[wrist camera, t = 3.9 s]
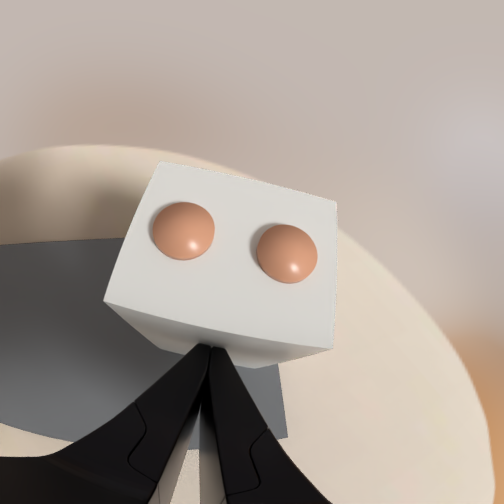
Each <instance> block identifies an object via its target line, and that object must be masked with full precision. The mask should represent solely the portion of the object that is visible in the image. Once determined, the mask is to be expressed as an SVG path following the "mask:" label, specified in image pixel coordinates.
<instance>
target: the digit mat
mask: <svg viewBox="0 0 504 504" xmlns="http://www.w3.org/2000/svg"><path fill="white" fill-rule="evenodd" d="M124 240H125V238H113V239H92V240H73V241H55V242H38V243H23V244H8V245H0V423H2V424H5V425H8V426H11V427H14V428H18V429H21V430H24V431H28V432H31V433H35V434H39V435H43V436H47V437H51V438H56V439H61V440H66V441H71V442H76V441H77V440H79V439H81V438H82V437H84V436H86V435H87V434H89V433H91V432H92V431H94V430H96V429H97V428H99V427H100V426H102V425H103V424H105V423H106V422H108V421H109V420H111V419H112V418H114V417H115V416H116V415H117V414H119V413H120V412H121V411H122V410H124V409H125V408H126V407H127V406H128V405H129V404H131V403H132V402H134V400H135V399H136V398H138V397H139V396H140V395H141V394H142V393H143V392H144V391H145V390H147V389H148V388H149V387H150V386H151V385H152V384H153V383H154V382H156V381H157V380H158V379H159V378H160V377H161V376H162V375H163V374H165V373H166V372H167V371H168V370H169V369H170V368H171V367H172V366H173V365H174V364H176V363H177V362H178V361H179V360H180V359H181V358H182V357H183V356H184V355H183V354H179V353H174V352H170V351H166V350H163V349H159V348H158V347H157V346H156V345H154V344H153V343H152V342H151V341H149V340H148V339H147V338H146V337H144V336H143V335H142V334H141V333H139V332H138V331H137V330H136V329H135V328H133V327H132V326H131V325H130V324H129V323H128V322H126V321H125V320H124V319H123V318H122V317H121V316H119V315H118V314H117V313H116V312H115V311H114V310H113V309H112V308H110V307H109V306H108V305H107V304H106V303H105V302H104V301H103V300H104V297H105V294H106V290H107V287H108V284H109V281H110V278H111V275H112V272H113V269H114V267H115V264H116V261H117V258H118V256H119V253H120V250H121V248H122V245H123V242H124ZM234 366H235V368H236V370H237V371H238V373H239V375H240V377H241V379H242V381H243V383H244V384H245V386H246V388H247V390H248V392H249V393H250V395H251V397H252V399H253V400H254V402H255V404H256V406H257V407H258V409H259V411H260V413H261V414H262V416H263V418H264V419H265V421H266V423H267V424H268V426H269V427H268V428H270V429H271V431H272V433H273V434H274V436H275V438H276V439H282V438H287V437H288V434H287V426H286V419H285V411H284V404H283V397H282V390H281V382H280V375H279V368H278V364H274V365H269V366H265V367H260V368H256V369H254V368H248V367H242V366H236V365H234ZM200 407H201V406H200ZM199 419H200V411H199V415H198V418H197V421H196V424H195V427H194V431H193V434H192V437H191V440H190V443H189V446H188V449H187V450H192V449H199Z"/></svg>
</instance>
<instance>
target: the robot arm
mask: <svg viewBox="0 0 504 504" xmlns="http://www.w3.org/2000/svg"><path fill="white" fill-rule="evenodd" d="M200 406H201V407H200ZM199 411H200V419H199V475H200V504H332V503H331V502H330V501H328V500H327V499H326V498H325V497H324V496H323V495H322V494H321V493H320V492H319V491H318V489H317V488H316V487H315V486H314V485H313V484H312V483H311V482H310V481H309V480H308V479H307V477H306V476H305V475H304V474H303V473H302V472H301V471H300V470H299V468H298V467H297V466H296V465H295V464H294V462H293V461H292V460H291V459H290V457H289V456H288V455H287V454H286V452H285V451H284V450H283V448H282V447H281V445H280V444H279V442H278V441H277V439H276V438H275V436H274V434H273V433H272V431H271V429H270V428H268V427H269V426H268V424H267V423H266V421H265V419H264V418H263V416H262V414H261V413H260V411H259V409H258V407H257V406H256V404H255V402H254V400H253V399H252V397H251V395H250V393H249V392H248V390H247V388H246V386H245V384H244V383H243V381H242V379H241V377H240V375H239V373H238V371H237V370H236V368H235V366H234V364H233V362H232V360H231V358H230V356H229V355H228V353H227V351H226V349H225V348H221V347H216V346H213V347H212V348H211V346H210V345H206V344H201V343H198V344H196V345H195V346H194V347H193V348H192V349H191V350H190V351H189V352H188V353H187V354H185V355H184V356H183V357H182V358H181V359H180V360H179V361H178V362H177V363H176V364H174V365H173V366H172V367H171V368H170V369H169V370H168V371H167V372H166V373H165V374H163V375H162V376H161V377H160V378H159V379H158V380H157V381H156V382H154V383H153V384H152V385H151V386H150V387H149V388H148V389H147V390H145V391H144V392H143V393H142V394H141V395H140V396H139V397H138V398H136V399H135V400H134V402H132V403H131V404H129V405H128V406H127V407H126V408H125V409H124V410H122V411H121V412H120V413H119V414H117V415H116V416H115V417H114V418H112V419H111V420H109V421H108V422H106V423H105V424H103V425H102V426H100V427H99V428H97V429H96V430H94V431H92V432H91V433H89V434H87V435H86V436H84V437H82V438H81V439H79V440H77V441H76V442H74V443H72V444H70V445H69V446H67V447H65V448H63V449H62V450H60V451H58V452H55V453H53V454H49V455H46V456H40V457H0V504H170V502H171V499H172V496H173V492H174V489H175V486H176V483H177V480H178V477H179V474H180V471H181V468H182V465H183V461H184V458H185V455H186V452H187V449H188V446H189V443H190V440H191V437H192V434H193V431H194V427H195V424H196V421H197V418H198V415H199Z"/></svg>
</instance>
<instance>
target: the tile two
mask: <svg viewBox="0 0 504 504" xmlns="http://www.w3.org/2000/svg"><path fill="white" fill-rule="evenodd" d="M336 287H337V202H336V201H332V200H329V199H325V198H322V197H318V196H314V195H311V194H307V193H304V192H300V191H296V190H293V189H289V188H285V187H281V186H277V185H273V184H269V183H265V182H261V181H257V180H252V179H248V178H244V177H239V176H235V175H230V174H226V173H221V172H216V171H211V170H206V169H201V168H196V167H191V166H186V165H180V164H175V163H169V162H163V161H159V163H158V165H157V167H156V169H155V171H154V173H153V176H152V178H151V180H150V182H149V184H148V186H147V188H146V190H145V193H144V195H143V197H142V199H141V201H140V204H139V206H138V208H137V210H136V213H135V215H134V218H133V220H132V222H131V225H130V227H129V230H128V232H127V235H126V237H125V240H124V242H123V245H122V248H121V250H120V253H119V256H118V258H117V261H116V264H115V267H114V269H113V272H112V275H111V278H110V281H109V284H108V287H107V290H106V294H105V297H104V300H103V301H104V302H105V303H106V304H107V305H108V306H109V307H110V308H112V309H113V310H114V311H115V312H116V313H117V314H118V315H119V316H121V317H122V318H123V319H124V320H125V321H126V322H128V323H129V324H130V325H131V326H132V327H133V328H135V329H136V330H137V331H138V332H139V333H141V334H142V335H143V336H144V337H146V338H147V339H148V340H149V341H151V342H152V343H153V344H154V345H156V346H157V347H158V348H159V349H163V350H166V351H170V352H174V353H179V354H183V355H185V354H187V353H188V352H189V351H190V350H191V349H192V348H193V347H194V346H195V345H196V344H198V343H201V344H206V345H210V346H211V348H212V347H213V346H216V347H221V348H225V349H226V351H227V353H228V355H229V356H230V358H231V360H232V362H233V364H234V365H236V366H242V367H248V368H254V369H256V368H260V367H265V366H269V365H274V364H278V363H282V362H286V361H290V360H294V359H298V358H302V357H306V356H310V355H313V354H317V353H320V352H324V351H327V350H331V349H333V340H334V326H335V309H336Z"/></svg>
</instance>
